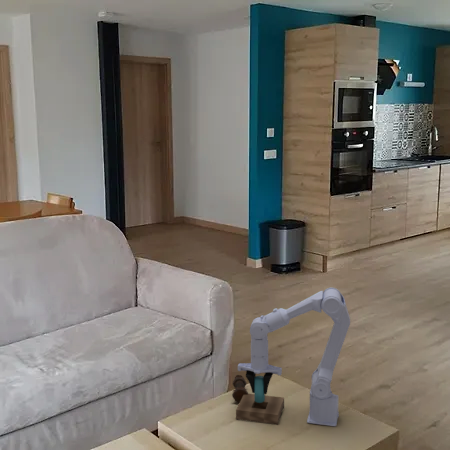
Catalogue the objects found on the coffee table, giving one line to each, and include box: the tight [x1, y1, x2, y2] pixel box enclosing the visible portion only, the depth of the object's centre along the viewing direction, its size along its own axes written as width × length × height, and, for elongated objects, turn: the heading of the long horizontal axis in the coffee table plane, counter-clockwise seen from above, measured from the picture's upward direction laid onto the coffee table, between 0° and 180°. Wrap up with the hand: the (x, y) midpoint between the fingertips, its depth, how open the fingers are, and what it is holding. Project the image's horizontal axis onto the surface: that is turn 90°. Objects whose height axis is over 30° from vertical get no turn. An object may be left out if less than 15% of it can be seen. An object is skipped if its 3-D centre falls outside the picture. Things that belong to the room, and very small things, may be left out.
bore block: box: [235, 393, 285, 425], centre depth 200 cm, size 14×12×4 cm
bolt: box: [231, 374, 249, 404], centre depth 214 cm, size 6×5×15 cm
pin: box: [253, 375, 266, 403], centre depth 198 cm, size 3×3×8 cm
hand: (259, 392), depth 198 cm, fingers closed on pin, 3 cm apart
